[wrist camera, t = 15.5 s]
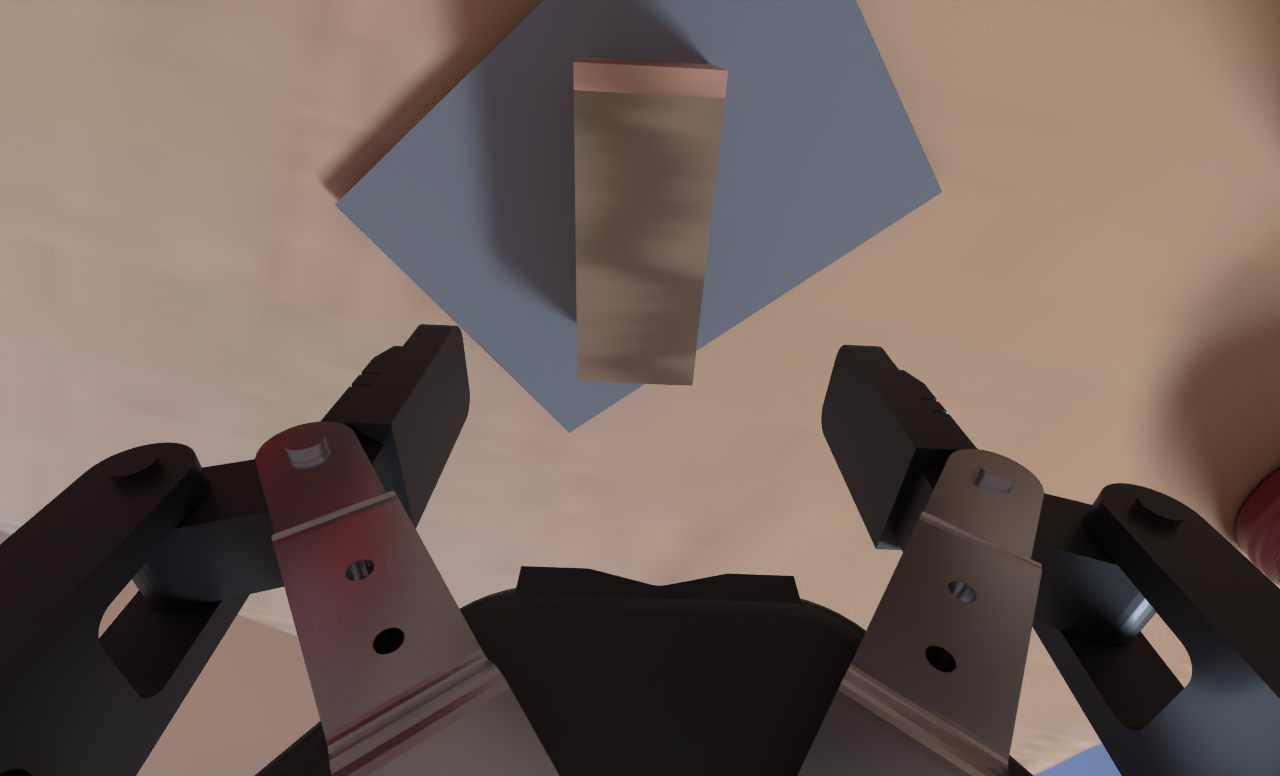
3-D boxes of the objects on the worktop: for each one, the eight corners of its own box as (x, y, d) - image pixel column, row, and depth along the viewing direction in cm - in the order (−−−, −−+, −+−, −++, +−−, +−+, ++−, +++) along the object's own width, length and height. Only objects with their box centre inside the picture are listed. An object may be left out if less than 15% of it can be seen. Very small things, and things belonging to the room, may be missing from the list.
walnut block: (683, 333, 29) (710, 64, 22) (692, 385, 24) (728, 70, 18) (585, 330, 29) (584, 57, 22) (577, 381, 24) (573, 61, 18)
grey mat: (754, -202, 19) (759, -214, 18) (931, 186, 26) (942, 192, 25) (344, 199, 26) (334, 204, 25) (571, 422, 33) (569, 432, 32)
